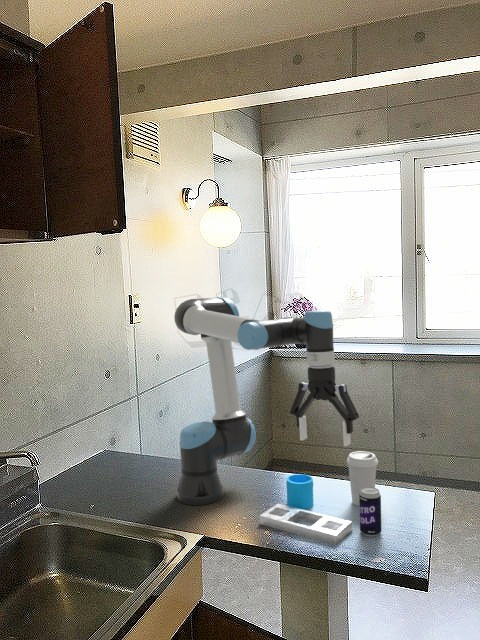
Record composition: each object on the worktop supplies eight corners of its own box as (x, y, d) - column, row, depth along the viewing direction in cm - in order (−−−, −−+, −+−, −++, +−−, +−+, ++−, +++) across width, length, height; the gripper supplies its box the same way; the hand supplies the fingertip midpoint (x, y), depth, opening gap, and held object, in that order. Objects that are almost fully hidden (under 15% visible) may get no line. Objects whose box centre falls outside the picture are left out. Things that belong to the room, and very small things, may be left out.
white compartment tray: (259, 524, 161) (259, 515, 161) (278, 511, 169) (278, 503, 169) (336, 545, 147) (335, 535, 147) (352, 530, 155) (351, 521, 155)
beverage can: (357, 529, 155) (356, 487, 154) (377, 527, 156) (376, 485, 155) (363, 538, 150) (362, 495, 149) (384, 537, 150) (383, 493, 149)
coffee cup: (360, 511, 167) (359, 462, 166) (341, 500, 175) (339, 453, 174) (385, 504, 171) (384, 456, 170) (364, 494, 180) (364, 448, 178)
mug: (305, 512, 168) (304, 485, 167) (282, 506, 173) (281, 480, 172) (323, 498, 178) (323, 473, 177) (301, 493, 183) (300, 468, 182)
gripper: (275, 366, 159) (279, 440, 160) (356, 369, 144) (360, 451, 145) (289, 363, 165) (293, 434, 166) (369, 365, 150) (372, 443, 151)
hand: (324, 442), depth 156 cm, fingers open, 13 cm apart
